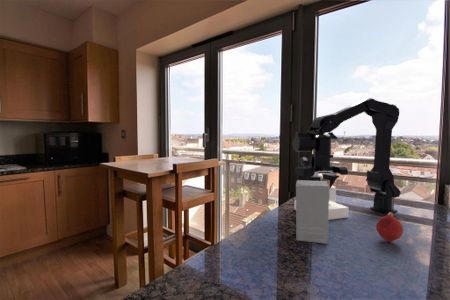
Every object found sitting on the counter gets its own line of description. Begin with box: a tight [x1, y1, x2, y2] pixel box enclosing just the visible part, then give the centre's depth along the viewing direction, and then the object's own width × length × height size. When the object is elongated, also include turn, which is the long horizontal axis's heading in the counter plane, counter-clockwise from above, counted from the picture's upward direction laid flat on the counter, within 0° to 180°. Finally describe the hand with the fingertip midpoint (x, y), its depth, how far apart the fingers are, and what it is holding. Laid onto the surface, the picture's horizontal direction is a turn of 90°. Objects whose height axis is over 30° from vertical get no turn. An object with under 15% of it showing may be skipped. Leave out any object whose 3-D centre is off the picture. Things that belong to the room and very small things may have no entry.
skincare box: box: [295, 179, 329, 245], centre depth 65 cm, size 8×7×16 cm
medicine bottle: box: [318, 173, 337, 203], centre depth 101 cm, size 7×7×12 cm
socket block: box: [293, 199, 350, 221], centre depth 86 cm, size 13×13×4 cm
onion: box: [375, 212, 404, 243], centre depth 63 cm, size 6×6×8 cm
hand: (320, 194), depth 86 cm, fingers closed on peg, 4 cm apart
